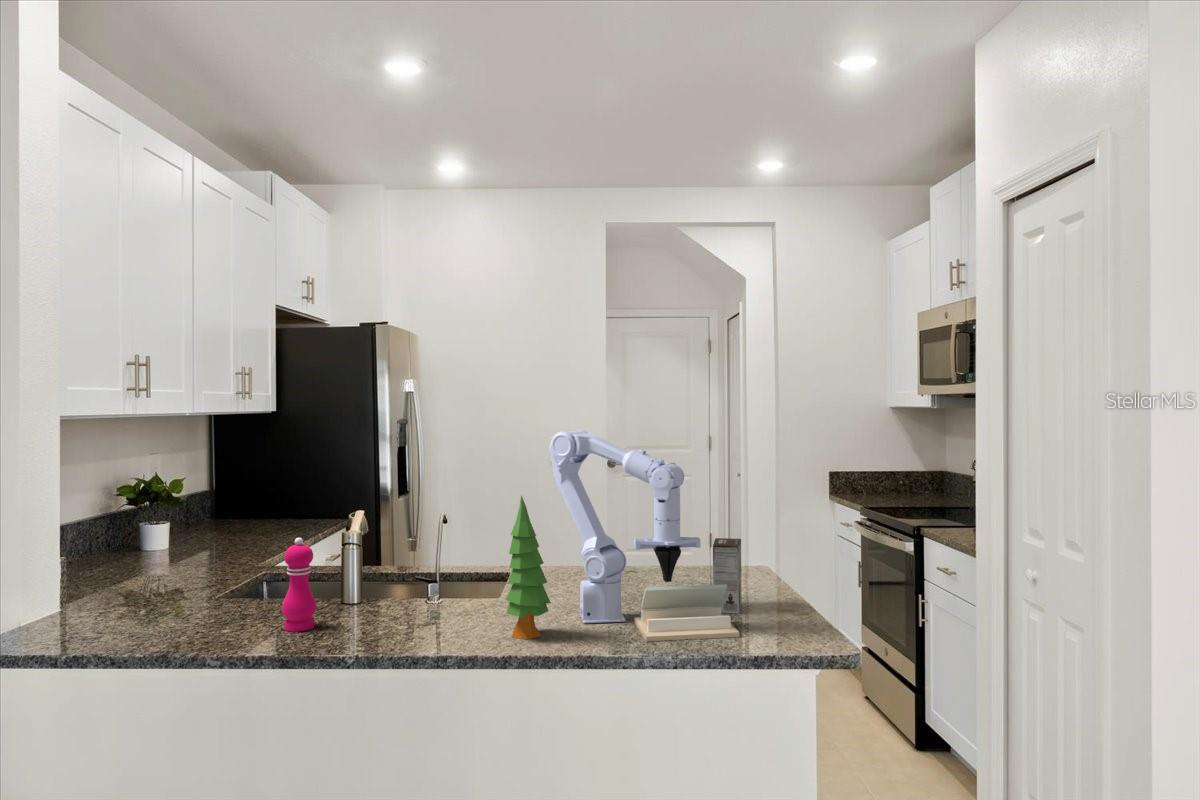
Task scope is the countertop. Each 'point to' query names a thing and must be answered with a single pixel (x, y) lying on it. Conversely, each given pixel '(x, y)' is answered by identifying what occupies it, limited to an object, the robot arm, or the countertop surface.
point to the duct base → (685, 624)
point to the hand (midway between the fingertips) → (667, 580)
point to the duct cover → (683, 596)
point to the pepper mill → (299, 589)
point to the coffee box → (728, 572)
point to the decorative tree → (526, 578)
